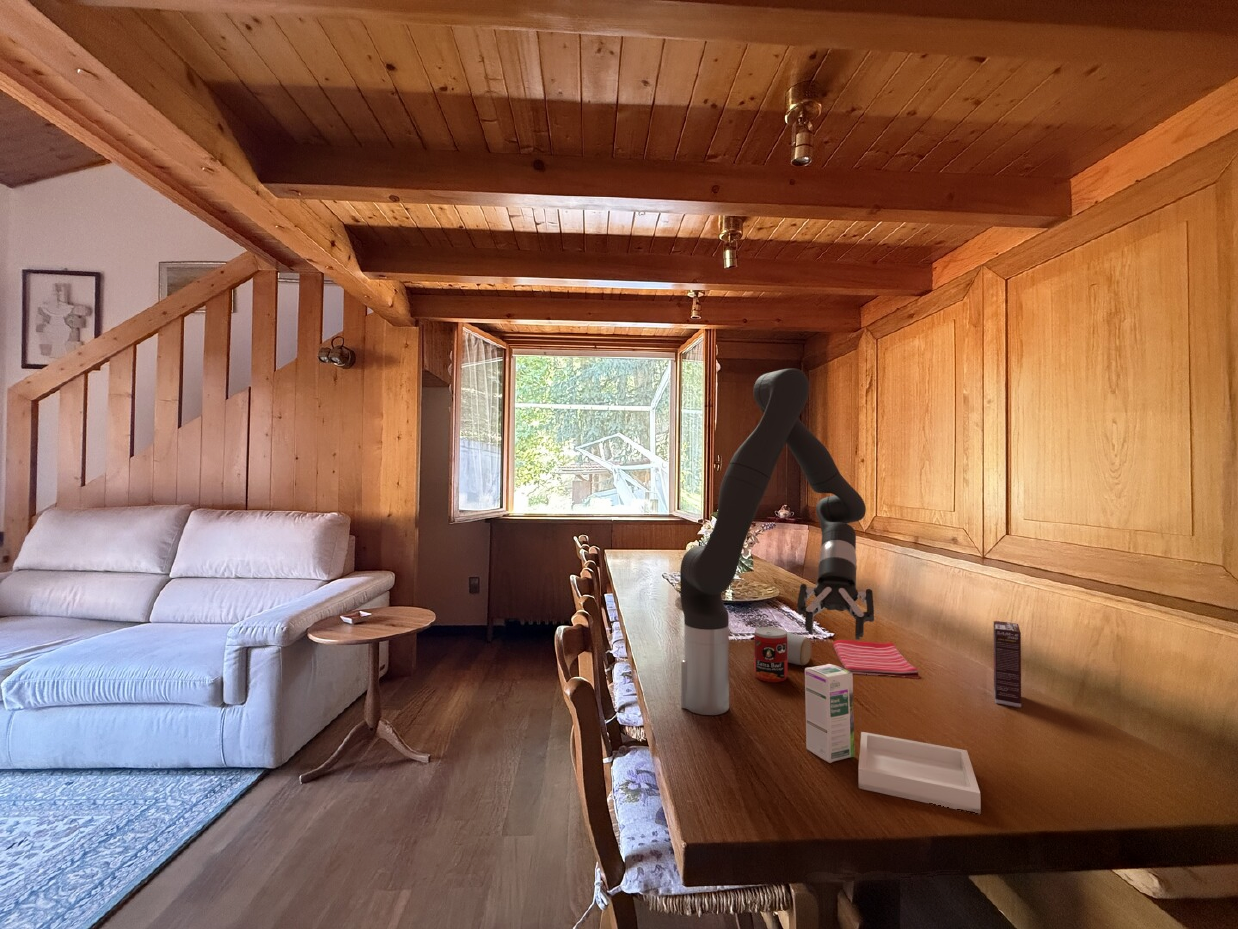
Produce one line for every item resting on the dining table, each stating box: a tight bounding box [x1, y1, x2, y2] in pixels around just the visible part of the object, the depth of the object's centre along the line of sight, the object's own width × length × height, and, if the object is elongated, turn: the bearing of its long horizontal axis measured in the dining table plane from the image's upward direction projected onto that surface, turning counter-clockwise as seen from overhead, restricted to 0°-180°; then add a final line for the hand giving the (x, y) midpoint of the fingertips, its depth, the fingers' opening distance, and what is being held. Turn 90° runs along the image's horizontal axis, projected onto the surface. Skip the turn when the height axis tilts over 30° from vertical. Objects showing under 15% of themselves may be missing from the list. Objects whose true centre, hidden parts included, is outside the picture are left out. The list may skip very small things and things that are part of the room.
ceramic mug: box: [786, 631, 812, 666], centre depth 147 cm, size 11×8×8 cm
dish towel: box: [832, 639, 920, 678], centre depth 148 cm, size 17×24×3 cm
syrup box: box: [804, 663, 856, 764], centre depth 98 cm, size 6×6×14 cm
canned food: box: [753, 626, 788, 683], centre depth 135 cm, size 8×8×11 cm
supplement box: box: [993, 620, 1022, 709], centre depth 122 cm, size 9×5×16 cm, turn 148°
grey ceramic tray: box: [857, 731, 982, 815], centre depth 90 cm, size 16×14×3 cm
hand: (833, 634), depth 108 cm, fingers open, 8 cm apart
